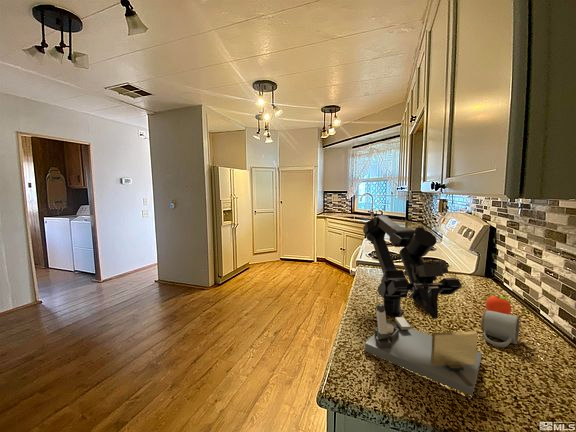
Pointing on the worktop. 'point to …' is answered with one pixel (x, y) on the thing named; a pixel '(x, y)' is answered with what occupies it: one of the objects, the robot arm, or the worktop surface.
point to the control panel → (422, 358)
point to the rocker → (402, 323)
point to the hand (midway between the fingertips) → (435, 318)
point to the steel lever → (382, 323)
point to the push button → (390, 329)
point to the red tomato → (498, 304)
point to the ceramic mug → (500, 327)
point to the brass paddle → (453, 349)
